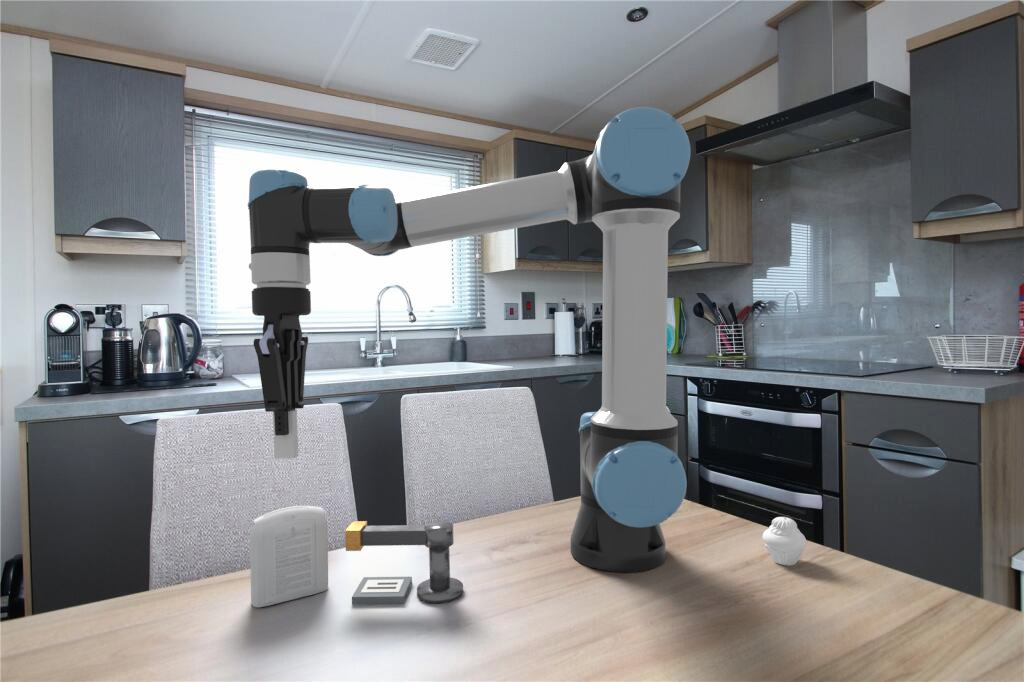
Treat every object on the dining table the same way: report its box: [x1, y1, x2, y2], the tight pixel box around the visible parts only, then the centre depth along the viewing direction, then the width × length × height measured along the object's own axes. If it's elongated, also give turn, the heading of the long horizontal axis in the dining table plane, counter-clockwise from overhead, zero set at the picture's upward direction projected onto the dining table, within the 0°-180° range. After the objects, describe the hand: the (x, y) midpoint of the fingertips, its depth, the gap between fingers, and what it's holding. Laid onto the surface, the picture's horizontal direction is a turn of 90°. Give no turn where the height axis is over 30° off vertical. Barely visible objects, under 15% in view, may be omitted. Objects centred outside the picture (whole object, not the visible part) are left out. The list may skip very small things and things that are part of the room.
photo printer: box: [249, 505, 329, 608], centre depth 80 cm, size 10×4×12 cm, turn 123°
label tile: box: [351, 576, 413, 605], centre depth 80 cm, size 7×6×1 cm
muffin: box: [762, 516, 807, 567], centre depth 88 cm, size 6×6×7 cm
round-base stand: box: [416, 547, 464, 605], centre depth 80 cm, size 6×6×7 cm
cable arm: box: [344, 520, 455, 552], centre depth 80 cm, size 14×4×3 cm, turn 89°
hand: (286, 456), depth 80 cm, fingers closed
